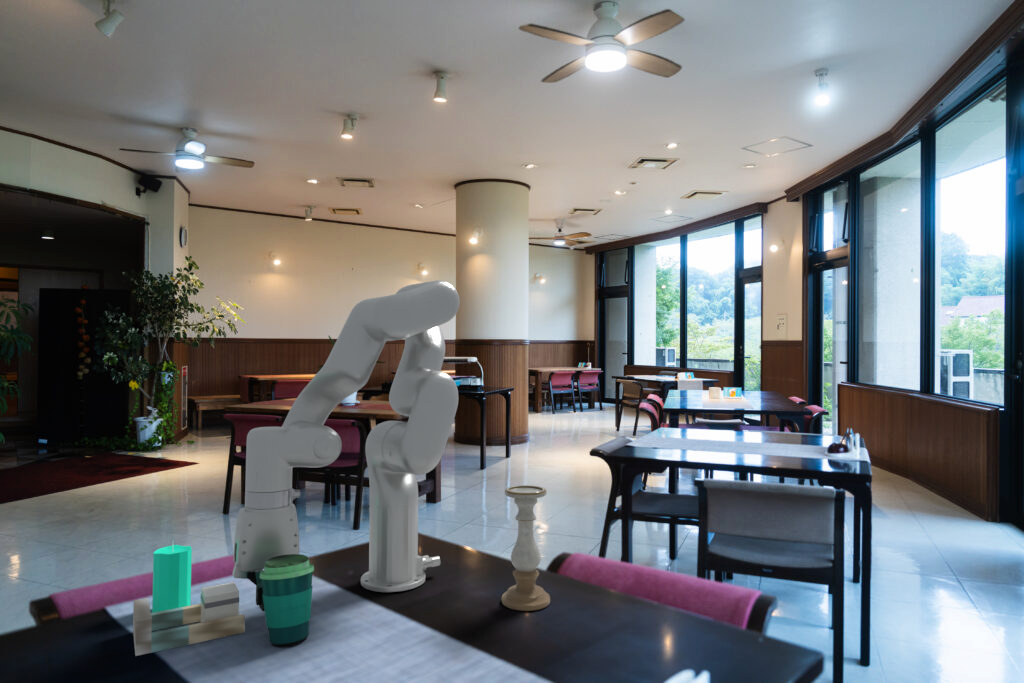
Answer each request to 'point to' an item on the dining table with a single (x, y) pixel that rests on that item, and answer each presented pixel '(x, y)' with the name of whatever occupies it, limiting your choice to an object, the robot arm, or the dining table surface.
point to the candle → (171, 577)
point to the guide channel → (181, 635)
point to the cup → (287, 598)
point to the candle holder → (525, 553)
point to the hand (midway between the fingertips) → (265, 607)
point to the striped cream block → (219, 602)
